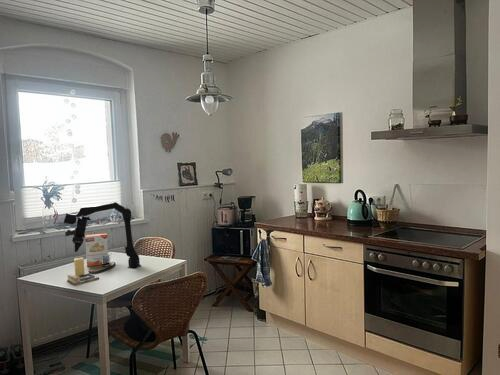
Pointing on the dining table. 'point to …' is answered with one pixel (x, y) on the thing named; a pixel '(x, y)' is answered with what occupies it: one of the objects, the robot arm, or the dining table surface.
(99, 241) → the cracker box
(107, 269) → the dining table surface
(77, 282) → the flat tray
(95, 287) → the dining table surface
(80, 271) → the pillar
